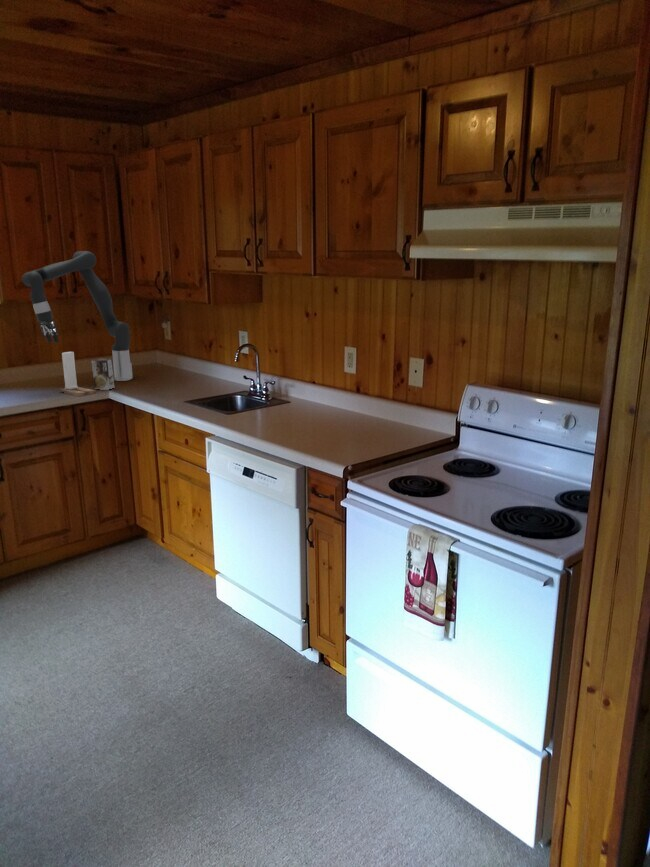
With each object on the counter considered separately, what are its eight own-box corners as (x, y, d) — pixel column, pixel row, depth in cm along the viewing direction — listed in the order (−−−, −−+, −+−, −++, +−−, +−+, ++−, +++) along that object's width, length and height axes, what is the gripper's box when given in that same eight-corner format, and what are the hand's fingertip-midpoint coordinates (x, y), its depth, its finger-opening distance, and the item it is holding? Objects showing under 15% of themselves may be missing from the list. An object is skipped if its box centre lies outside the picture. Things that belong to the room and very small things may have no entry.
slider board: (75, 389, 355) (75, 386, 355) (95, 392, 346) (95, 389, 346) (59, 392, 347) (59, 389, 347) (79, 396, 338) (79, 393, 338)
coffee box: (115, 388, 358) (112, 358, 354) (110, 390, 352) (107, 360, 348) (99, 387, 359) (96, 358, 355) (93, 390, 353) (91, 360, 349)
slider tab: (73, 386, 352) (69, 351, 347) (77, 387, 350) (74, 352, 345) (64, 388, 348) (61, 352, 343) (69, 389, 346) (65, 353, 341)
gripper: (55, 309, 333) (66, 340, 338) (44, 310, 343) (54, 340, 348) (41, 312, 328) (52, 344, 333) (30, 313, 338) (40, 344, 343)
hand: (53, 342), depth 341 cm, fingers open, 8 cm apart
